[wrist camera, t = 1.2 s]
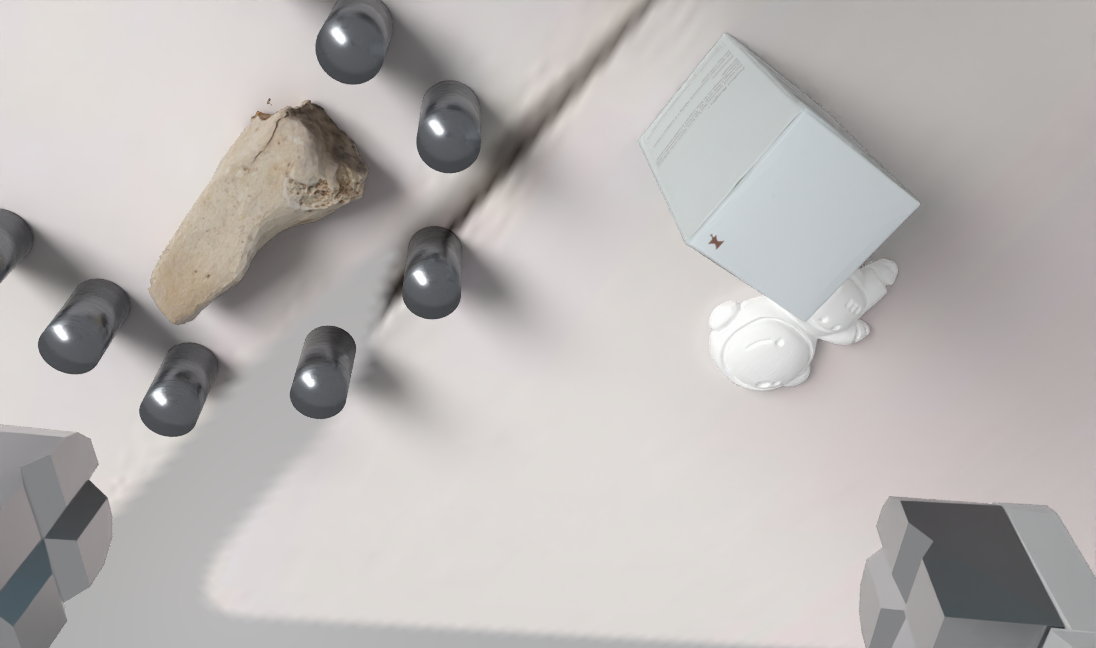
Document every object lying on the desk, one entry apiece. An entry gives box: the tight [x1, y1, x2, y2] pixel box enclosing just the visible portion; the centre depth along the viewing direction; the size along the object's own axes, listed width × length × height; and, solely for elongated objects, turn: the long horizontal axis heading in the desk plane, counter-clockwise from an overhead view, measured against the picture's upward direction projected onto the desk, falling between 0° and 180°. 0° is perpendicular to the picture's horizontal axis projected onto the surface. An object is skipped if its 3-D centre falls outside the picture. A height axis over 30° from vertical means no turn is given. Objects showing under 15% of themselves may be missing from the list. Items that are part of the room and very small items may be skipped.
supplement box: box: [639, 33, 921, 322], centre depth 44 cm, size 7×7×13 cm
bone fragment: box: [148, 98, 369, 325], centre depth 48 cm, size 14×6×5 cm, turn 130°
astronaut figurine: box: [709, 258, 898, 391], centre depth 55 cm, size 9×12×3 cm
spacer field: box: [0, 0, 481, 437], centre depth 47 cm, size 20×25×5 cm
